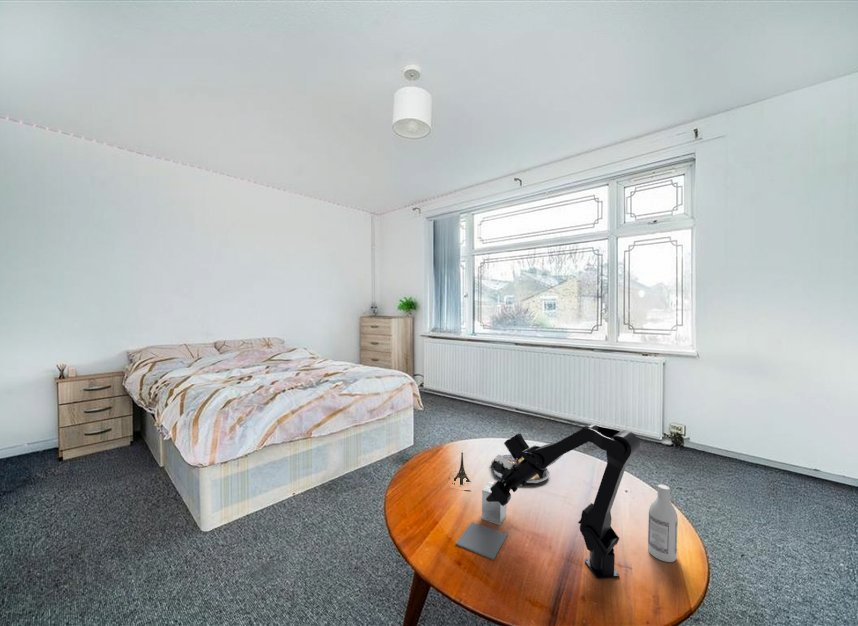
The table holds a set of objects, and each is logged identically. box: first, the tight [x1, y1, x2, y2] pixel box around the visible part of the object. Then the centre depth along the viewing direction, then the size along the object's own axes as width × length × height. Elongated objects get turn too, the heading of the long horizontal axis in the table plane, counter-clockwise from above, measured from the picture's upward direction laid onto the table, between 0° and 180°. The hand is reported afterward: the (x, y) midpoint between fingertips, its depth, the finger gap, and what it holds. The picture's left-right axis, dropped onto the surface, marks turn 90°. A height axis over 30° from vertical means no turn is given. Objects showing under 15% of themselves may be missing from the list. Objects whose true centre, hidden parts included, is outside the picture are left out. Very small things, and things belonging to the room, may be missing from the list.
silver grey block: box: [481, 481, 508, 526], centre depth 118 cm, size 6×6×10 cm
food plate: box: [490, 454, 550, 484], centre depth 151 cm, size 25×23×4 cm
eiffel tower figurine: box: [452, 451, 472, 486], centre depth 142 cm, size 15×10×13 cm
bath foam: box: [647, 483, 679, 563], centre depth 101 cm, size 7×7×20 cm
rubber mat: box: [455, 521, 508, 561], centre depth 106 cm, size 12×12×1 cm
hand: (490, 495), depth 118 cm, fingers closed on silver grey block, 6 cm apart
